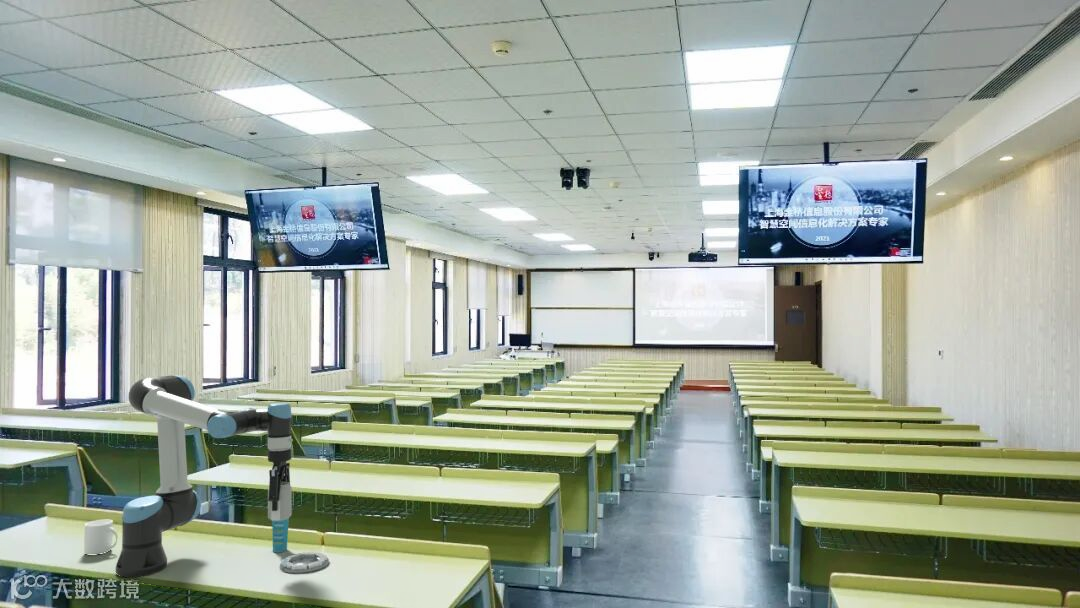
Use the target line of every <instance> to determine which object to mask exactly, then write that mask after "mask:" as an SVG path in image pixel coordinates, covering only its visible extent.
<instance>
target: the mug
mask: <svg viewBox="0 0 1080 608" xmlns="http://www.w3.org/2000/svg"><path fill="white" fill-rule="evenodd" d="M113 523H114V521H113V519H106V518H105V519H95V520H92V521H88V522H86V523H85V524H84V539H83V540H84V542H83V543H84V544H83V545H84V546H83V547H84V548H83V551H84V552H83V553H84V554H85V553H86V554H100V553H104V552H107V551H110V550H111V549H112V550H113V549H114V548H115V547H116V546H117V543H118V533H117V531H116V529H115V528H114V527H113V525H114V524H113ZM113 535H114V536H115V542H114V543H113ZM112 550H111V551H112ZM111 551H110V552H111Z"/></svg>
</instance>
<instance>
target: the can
mask: <svg viewBox="0 0 1080 608" xmlns="http://www.w3.org/2000/svg"><path fill="white" fill-rule="evenodd" d="M282 484H285V485H282ZM292 489H293V487H292V486H291V484H290V485H289V482H281V487H280V495H279V500H280V520H272V521H282V520H286V519H288V518H289V519H290V517H291V516H292V513H293V512H292V509H293V508H292V505H293V504H292V495H293V494H292ZM273 497H274V496H273ZM268 499H269V487H268V488H267V518H268V520H270V521H271V501H268ZM272 521H271V522H272Z"/></svg>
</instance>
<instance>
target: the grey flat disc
mask: <svg viewBox="0 0 1080 608" xmlns="http://www.w3.org/2000/svg"><path fill="white" fill-rule="evenodd" d="M329 563H330V560H329V558H328V556H327V555H326V554H324V553H322V552H317V551H314V552H313V551H312V552H310V551H309V552H299V553H295V554H292V555H288V556H287V557H285V558H284V559H283V561H281V562H280V564H279V570H280V571H281V572H283V573H287V574H295V575H296V574H306V573H307V574H309V573H313V572H316V571H320V570H322V569H324V568H326V567H327V566H329Z"/></svg>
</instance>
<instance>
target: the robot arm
mask: <svg viewBox="0 0 1080 608" xmlns="http://www.w3.org/2000/svg"><path fill="white" fill-rule="evenodd" d="M195 390H196V389H195V387H194V385H193V383H192V382H191V380H189V379H188V378H187V377H185V376H183V375H165V376H154V377H144V378H142V379H139V380H138V381H136V382H135V383H134V384H132V386H131V387H130V389H129V392H128V401H129V403H130V405H131V407H132V408H133V409H134V410H136V411H138V412H141V413H142V414H146V415H149V416H153V418H155V419H156V423H157V424H156V425H157V440H158V458H159V459H158V461H159V462H158V463H159V478H160V479H159V481H160V486H159V488H157V490H156V491H155V495H146V496H144V497H143V496H141V497H138V498H135V499H133V500H130V501H129V502H127V503H126V504H125V505H124V506H123V510H122V518H121V521H122V526H121V527H122V528H121V529H122V531H121V533H122V535H121V536H122V537H121V538H122V540H121V541H122V542H121V543H122V544H121V551H120V554H119V556H118V559H117V562H116V564H115V572H116V573H117V574H118V575H120V576H124V577H123V578H138V577H144V576H149V575H153V574H156V573H159V572H162V571H163V570H164V569H165V568H167V567H168V558H167V554H166V552H165V549H164V546H163V543H162V541H163V539H162V538H163V533H164V532H166V531H169V530H172V529H174V528H177V527H183V526H184V525H186V524H189V523H191V522H192V521H194V520H195V519H196V517H198V515H199V513H200V510H201V507H202V501H201V497H200V495H198V492H197V491H196V490H194V489H193V486H194V485H192V484H190V482H189V481H188V467H187V465H188V464H187V451H186V450H187V449H186V448H187V446H186V429H185V428H186V427H185V426H186V425H190V426H193V427H196V428H198V429H202V430H205V431H207V432H208V434H209V435H210V437H212V438H214V439H226V438H229V437H234V436H237V435H241V434H243V435H244V434H247V433H251V432H267V450H268V451H267V461H268V462H270V463H273V464H272V468H271V469H269V472H268V473H269V483H268V488H269V499H268V498H267V502H268V501H271V520H270V521H271V522H272V520H280V500H279V495H280V487H281V482H289V485H290V486H291V478H290V477H291V475H290V473H291V472H290V464H291V463H290V461H291V460H292V449H291V447H292V442H293V441H294V440H293V438H292V418H293V417H292V416H293V414H292V406H291V404H290V403H288V402H276V403H275V402H273V403H270V404H268V406H267V408H253V407H251V408H242V409H240V410H239V411H235V412H228V411H226V410H221V409H220V408H216V407H212V406H209V405H206V404H202V403H200V402H197V401H194V399H195V395H196V392H195ZM185 424H186V425H185ZM282 485H285V484H282ZM273 496H274V497H273ZM115 572H114V573H115ZM120 576H119V577H120Z"/></svg>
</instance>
